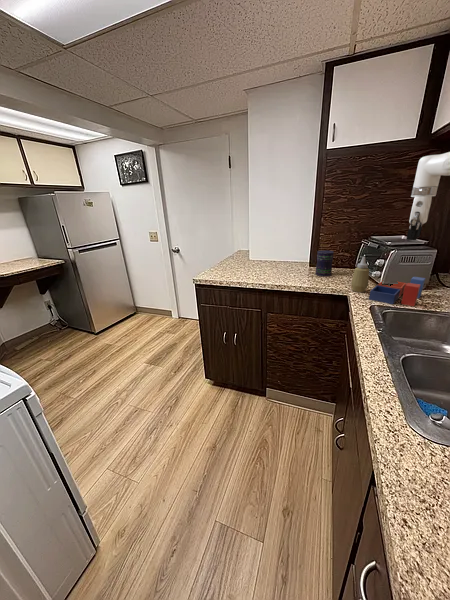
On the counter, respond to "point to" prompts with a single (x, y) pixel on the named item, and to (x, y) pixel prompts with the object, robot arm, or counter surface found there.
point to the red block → (410, 294)
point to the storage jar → (324, 263)
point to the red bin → (396, 286)
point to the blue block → (418, 281)
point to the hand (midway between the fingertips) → (413, 238)
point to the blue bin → (384, 294)
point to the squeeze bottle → (360, 277)
